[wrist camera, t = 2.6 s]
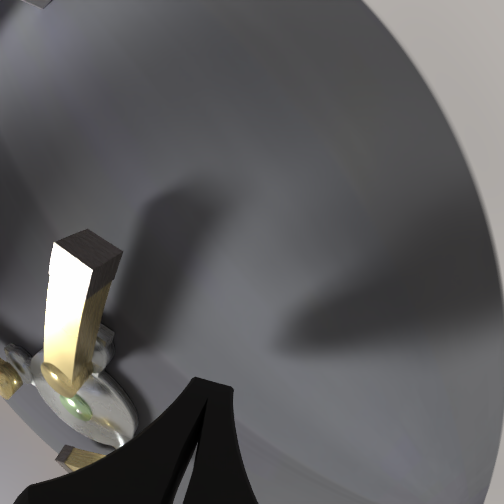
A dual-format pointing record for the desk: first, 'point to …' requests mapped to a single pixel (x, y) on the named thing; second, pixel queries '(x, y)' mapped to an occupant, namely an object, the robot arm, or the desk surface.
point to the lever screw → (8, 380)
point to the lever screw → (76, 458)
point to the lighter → (38, 3)
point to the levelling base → (85, 394)
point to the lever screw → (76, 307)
